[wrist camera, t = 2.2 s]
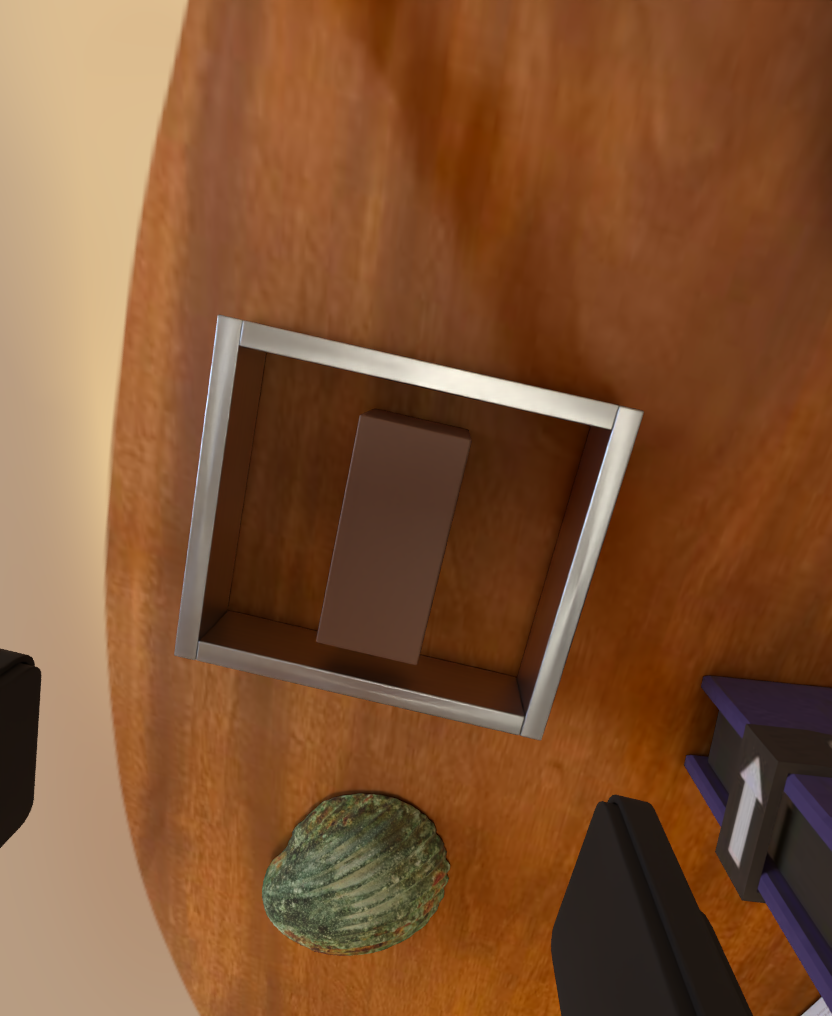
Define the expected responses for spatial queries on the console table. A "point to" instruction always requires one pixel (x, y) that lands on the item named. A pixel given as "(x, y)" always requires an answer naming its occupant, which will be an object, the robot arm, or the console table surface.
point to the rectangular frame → (353, 673)
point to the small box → (818, 1009)
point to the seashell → (357, 876)
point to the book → (775, 806)
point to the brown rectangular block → (392, 534)
